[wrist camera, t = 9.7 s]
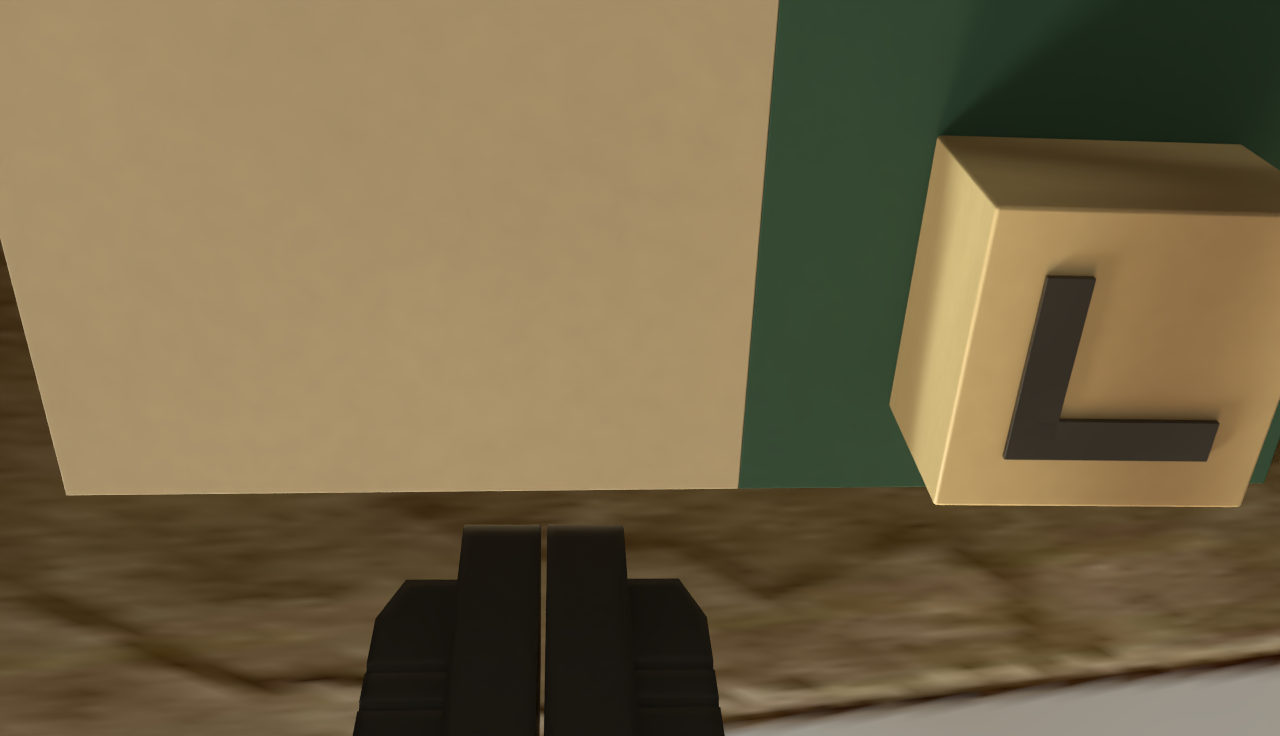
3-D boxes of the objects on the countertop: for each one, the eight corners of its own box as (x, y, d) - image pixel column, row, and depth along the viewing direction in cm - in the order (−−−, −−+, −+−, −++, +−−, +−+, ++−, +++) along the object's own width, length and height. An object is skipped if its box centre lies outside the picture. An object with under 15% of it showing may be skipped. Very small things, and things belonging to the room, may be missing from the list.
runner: (70, 488, 21) (65, 495, 21) (-63, -32, 17) (-69, -30, 17) (1259, 477, 23) (1264, 483, 23) (1426, -7, 18) (1435, -4, 18)
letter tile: (887, 405, 21) (934, 509, 18) (936, 133, 19) (998, 208, 16) (1159, 408, 22) (1244, 512, 19) (1242, 142, 19) (1353, 218, 16)
